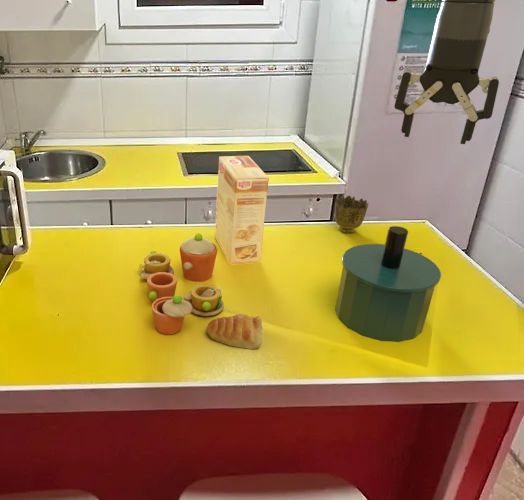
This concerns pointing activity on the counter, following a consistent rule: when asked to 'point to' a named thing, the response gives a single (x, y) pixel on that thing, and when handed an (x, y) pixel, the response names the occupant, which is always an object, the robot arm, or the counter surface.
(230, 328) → the pastry
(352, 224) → the cup
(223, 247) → the coffeecake box
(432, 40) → the robot arm
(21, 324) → the counter surface
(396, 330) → the pot
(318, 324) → the counter surface
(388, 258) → the lid
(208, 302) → the toy tea set
